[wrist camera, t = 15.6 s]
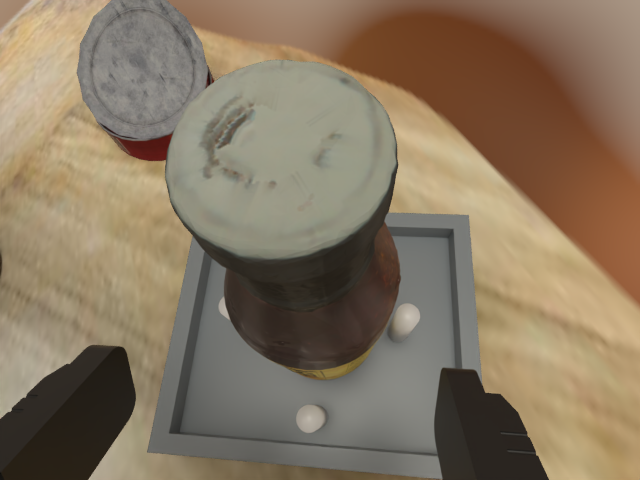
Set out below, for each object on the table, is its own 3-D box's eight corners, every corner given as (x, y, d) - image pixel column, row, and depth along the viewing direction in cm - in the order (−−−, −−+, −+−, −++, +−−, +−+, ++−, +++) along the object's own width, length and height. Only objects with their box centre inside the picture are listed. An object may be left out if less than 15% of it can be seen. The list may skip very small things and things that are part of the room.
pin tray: (170, 447, 24) (111, 459, 19) (212, 225, 30) (178, 179, 24) (473, 474, 23) (516, 497, 17) (457, 233, 29) (485, 187, 23)
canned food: (236, 127, 40) (260, 70, 31) (162, 196, 36) (164, 155, 27) (146, 41, 38) (142, -46, 29) (57, 104, 34) (21, 27, 25)
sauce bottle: (258, 314, 26) (33, 85, 8) (340, 264, 27) (317, -47, 8) (310, 408, 23) (163, 407, 5) (398, 350, 24) (540, 175, 6)
